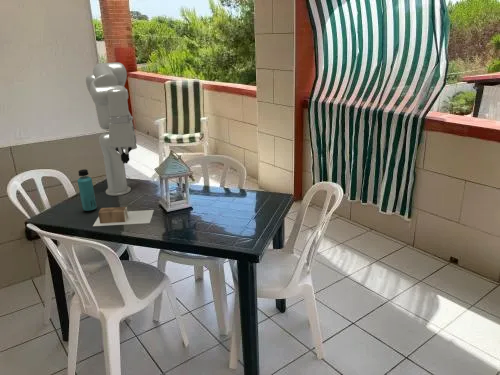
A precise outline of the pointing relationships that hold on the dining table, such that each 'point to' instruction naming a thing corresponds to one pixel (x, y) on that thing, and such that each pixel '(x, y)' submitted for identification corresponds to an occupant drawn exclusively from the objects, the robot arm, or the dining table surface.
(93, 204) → the beverage bottle
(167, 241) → the dining table surface
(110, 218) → the walnut block
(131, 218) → the white rectangular board
